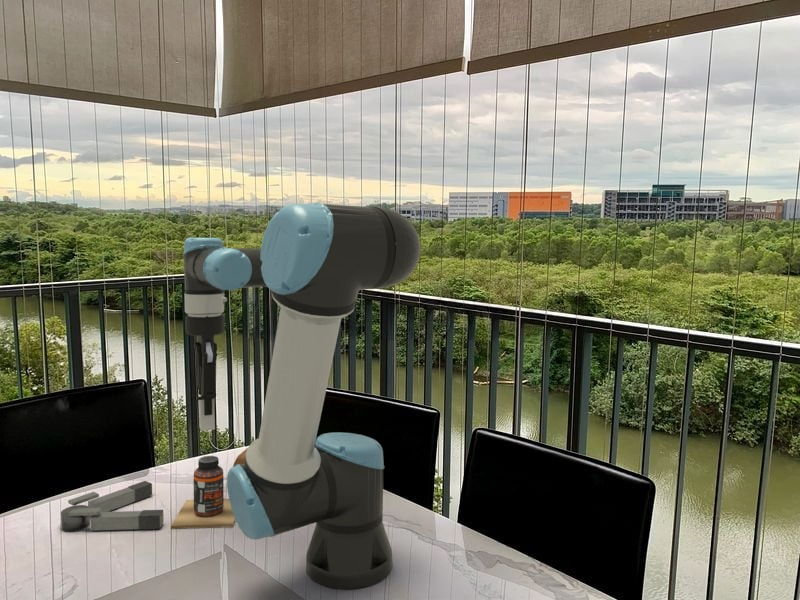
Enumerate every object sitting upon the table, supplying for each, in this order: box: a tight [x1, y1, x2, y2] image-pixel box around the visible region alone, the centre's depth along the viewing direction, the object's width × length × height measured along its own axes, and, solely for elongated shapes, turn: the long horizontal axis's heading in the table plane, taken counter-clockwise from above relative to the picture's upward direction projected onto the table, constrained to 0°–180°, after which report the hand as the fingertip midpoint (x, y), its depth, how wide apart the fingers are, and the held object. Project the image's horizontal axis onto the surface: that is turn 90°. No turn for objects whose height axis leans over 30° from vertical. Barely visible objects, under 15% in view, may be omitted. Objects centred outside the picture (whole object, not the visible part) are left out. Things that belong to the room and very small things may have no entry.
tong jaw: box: [67, 480, 153, 517], centre depth 128 cm, size 17×3×4 cm, turn 145°
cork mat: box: [170, 498, 236, 530], centre depth 126 cm, size 12×12×1 cm
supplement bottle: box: [193, 455, 225, 517], centre depth 125 cm, size 6×6×11 cm
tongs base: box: [60, 504, 165, 533], centre depth 120 cm, size 5×20×4 cm, turn 95°
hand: (207, 428), depth 124 cm, fingers closed
